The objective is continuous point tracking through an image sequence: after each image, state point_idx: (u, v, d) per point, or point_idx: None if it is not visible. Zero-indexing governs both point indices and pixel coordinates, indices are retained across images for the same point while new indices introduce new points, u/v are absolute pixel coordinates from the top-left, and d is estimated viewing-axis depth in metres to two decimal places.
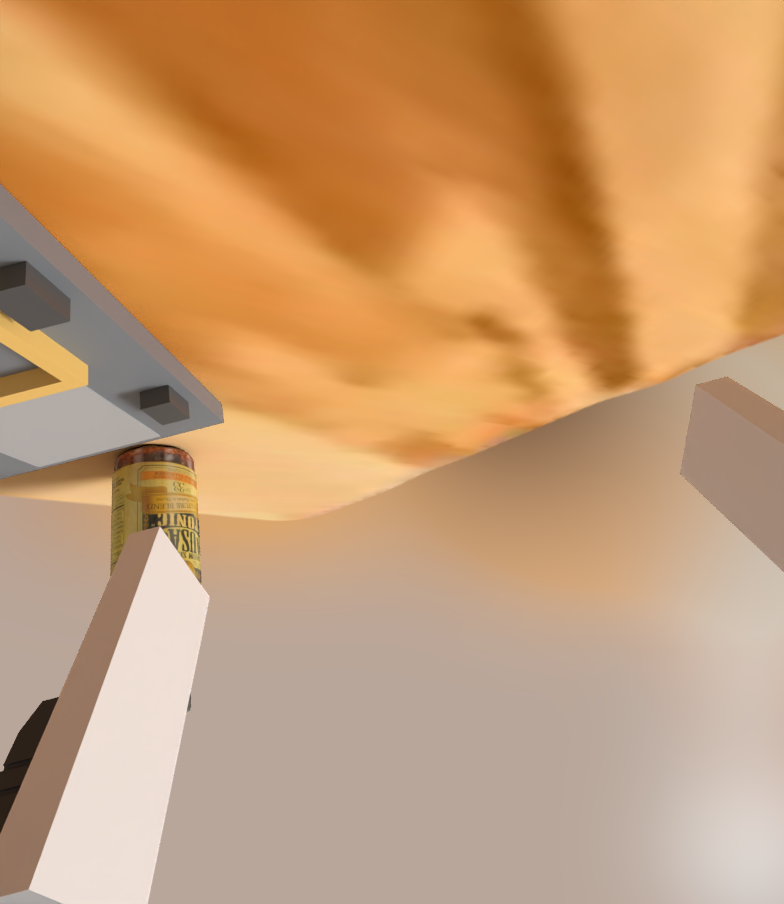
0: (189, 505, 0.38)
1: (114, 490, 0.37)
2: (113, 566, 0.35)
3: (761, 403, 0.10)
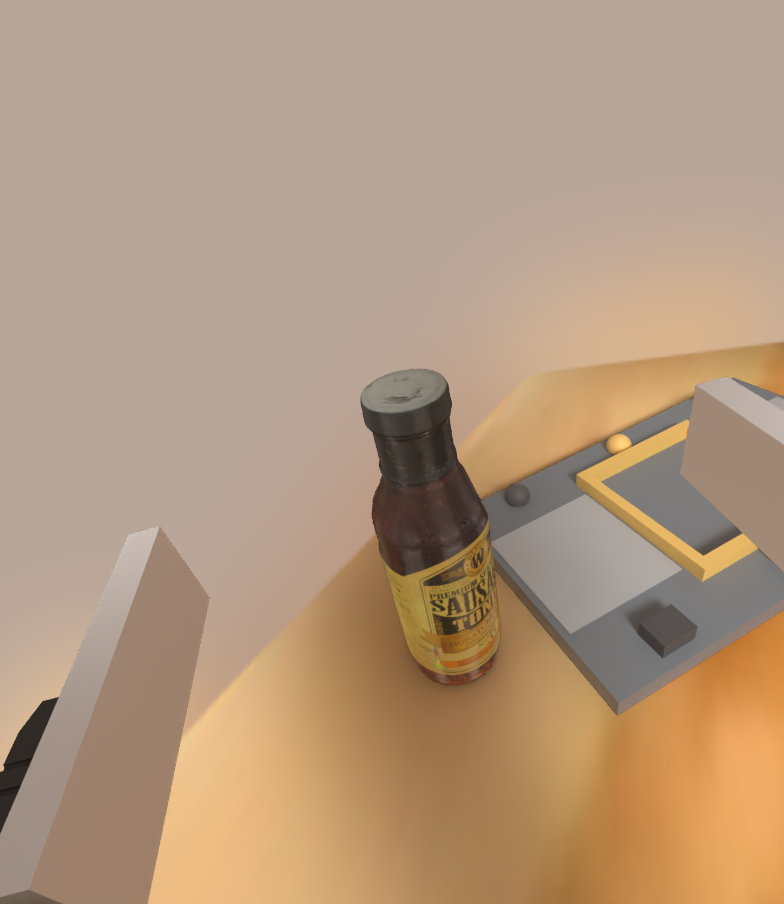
0: (478, 631, 0.27)
1: None
2: None
3: (761, 403, 0.10)
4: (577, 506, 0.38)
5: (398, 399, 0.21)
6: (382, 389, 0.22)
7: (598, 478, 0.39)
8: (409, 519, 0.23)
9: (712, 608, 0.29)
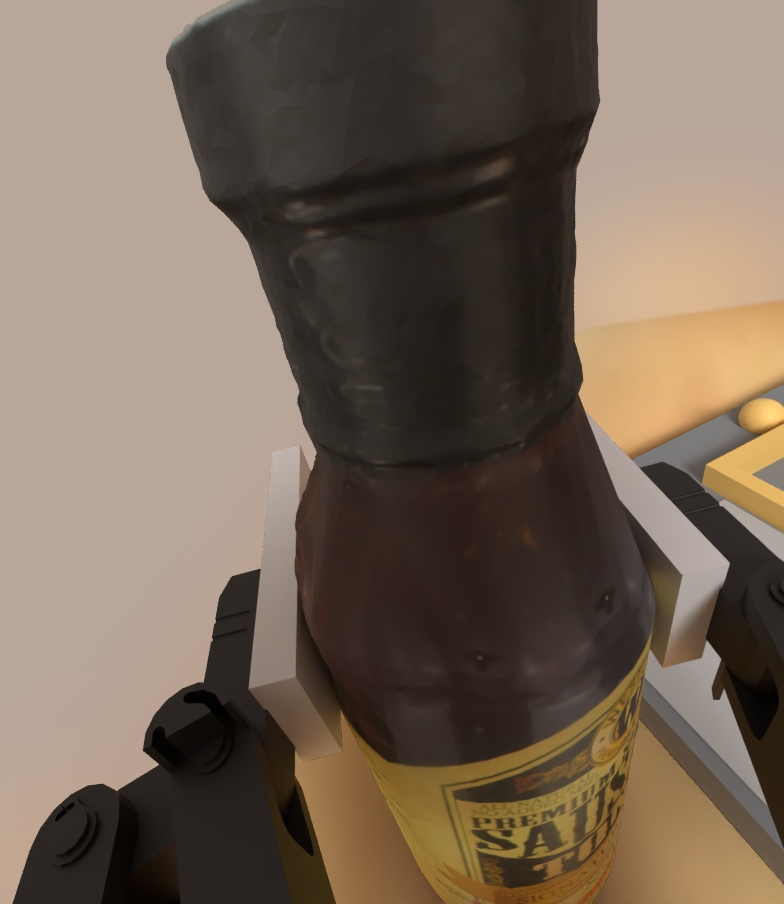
0: (593, 864, 0.10)
1: None
2: None
3: None
4: None
5: None
6: None
7: None
8: (404, 598, 0.06)
9: None
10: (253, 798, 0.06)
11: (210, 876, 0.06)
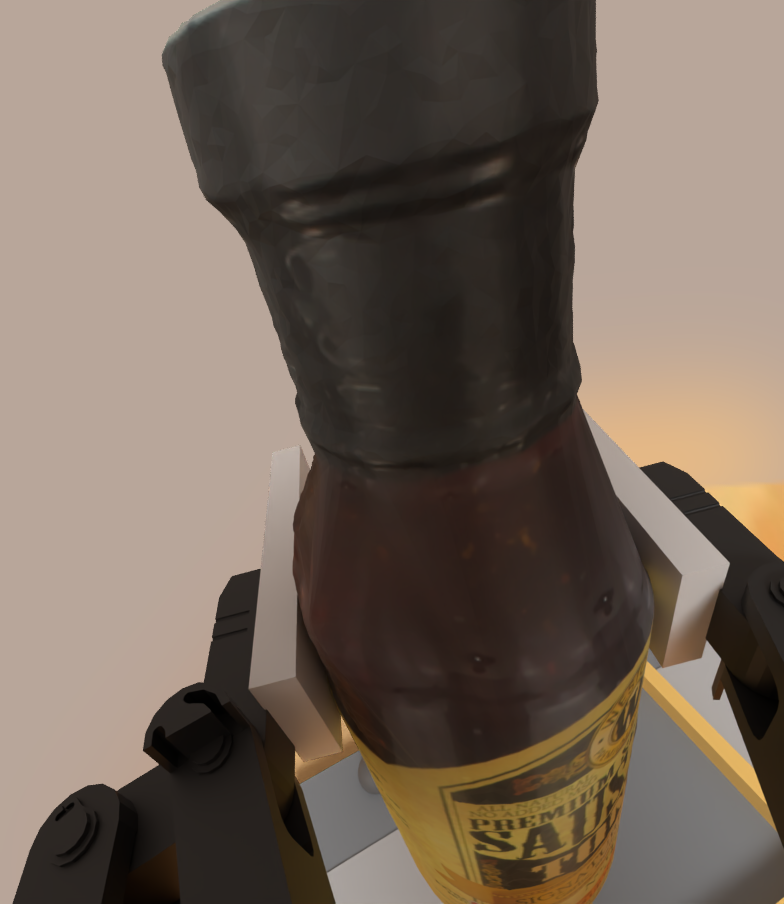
0: (592, 865, 0.10)
1: None
2: None
3: None
4: None
5: None
6: None
7: None
8: (402, 599, 0.06)
9: None
10: (253, 798, 0.06)
11: (211, 877, 0.06)
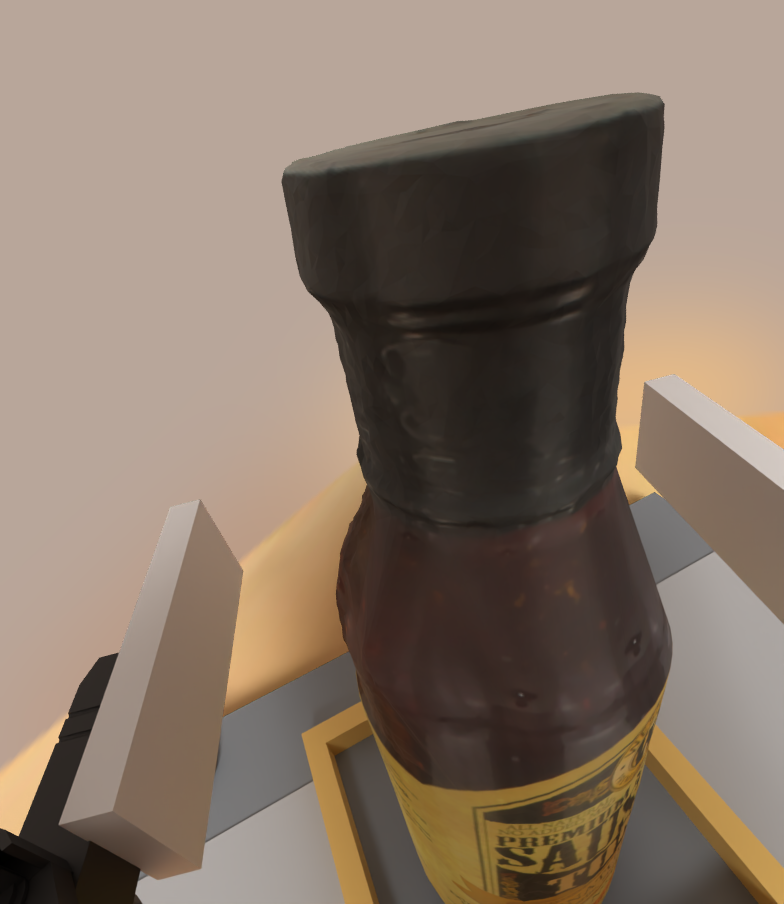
0: (600, 878, 0.11)
1: None
2: None
3: (702, 399, 0.11)
4: (285, 819, 0.18)
5: (446, 133, 0.04)
6: (373, 144, 0.05)
7: (347, 741, 0.19)
8: (453, 638, 0.07)
9: None
10: None
11: None
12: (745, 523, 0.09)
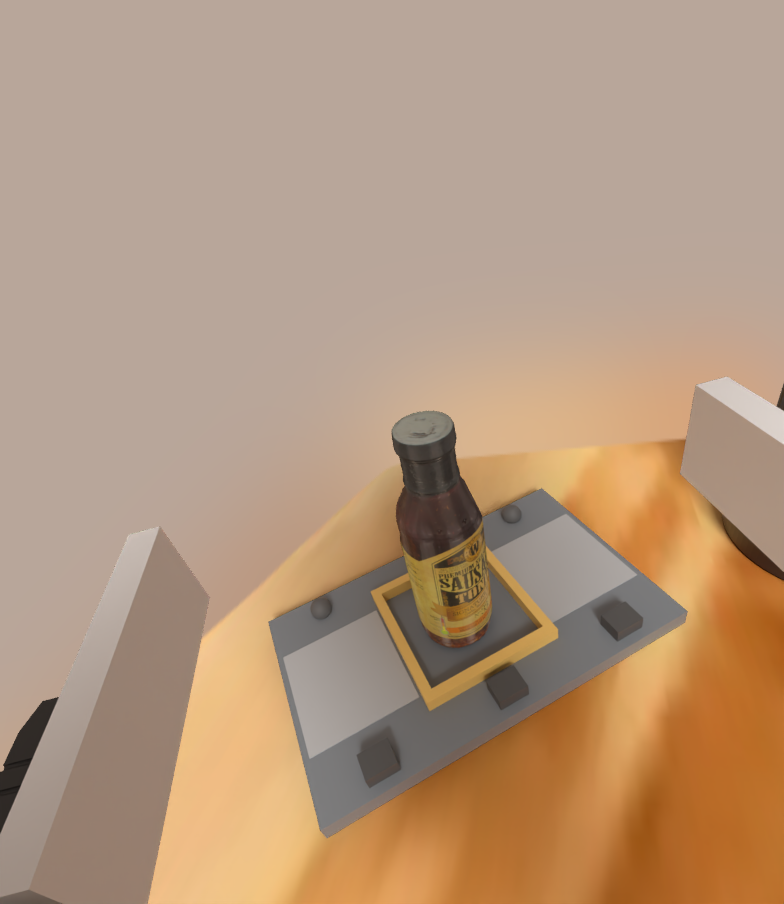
0: (475, 604, 0.36)
1: None
2: None
3: (761, 403, 0.10)
4: (365, 623, 0.43)
5: (419, 435, 0.30)
6: (407, 426, 0.31)
7: (390, 595, 0.44)
8: (424, 519, 0.32)
9: (426, 739, 0.34)
10: None
11: None
12: None
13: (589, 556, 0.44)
